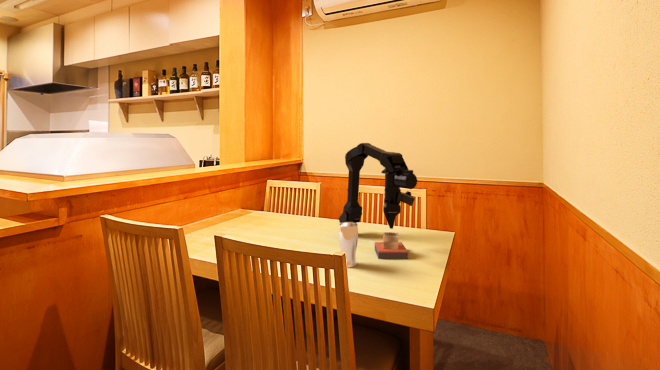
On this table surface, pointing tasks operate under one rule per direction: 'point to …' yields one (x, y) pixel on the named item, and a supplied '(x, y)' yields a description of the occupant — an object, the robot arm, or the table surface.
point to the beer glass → (349, 241)
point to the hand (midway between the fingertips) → (391, 225)
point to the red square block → (391, 252)
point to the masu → (390, 240)
